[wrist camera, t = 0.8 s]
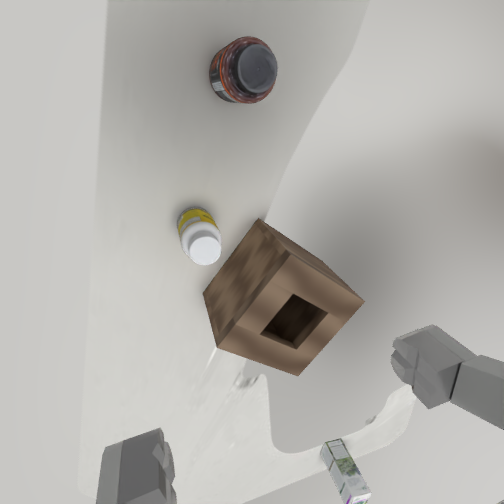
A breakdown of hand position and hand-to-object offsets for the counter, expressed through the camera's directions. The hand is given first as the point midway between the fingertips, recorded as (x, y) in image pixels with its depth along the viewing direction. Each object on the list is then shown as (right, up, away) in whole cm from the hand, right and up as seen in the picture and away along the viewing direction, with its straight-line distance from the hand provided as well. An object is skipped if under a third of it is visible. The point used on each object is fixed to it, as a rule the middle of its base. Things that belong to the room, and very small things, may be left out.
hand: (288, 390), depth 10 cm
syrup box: (+22, -53, +78) cm, 96 cm away
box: (+1, 0, +43) cm, 43 cm away
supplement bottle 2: (-4, +27, +28) cm, 39 cm away
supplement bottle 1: (-10, +9, +35) cm, 38 cm away
